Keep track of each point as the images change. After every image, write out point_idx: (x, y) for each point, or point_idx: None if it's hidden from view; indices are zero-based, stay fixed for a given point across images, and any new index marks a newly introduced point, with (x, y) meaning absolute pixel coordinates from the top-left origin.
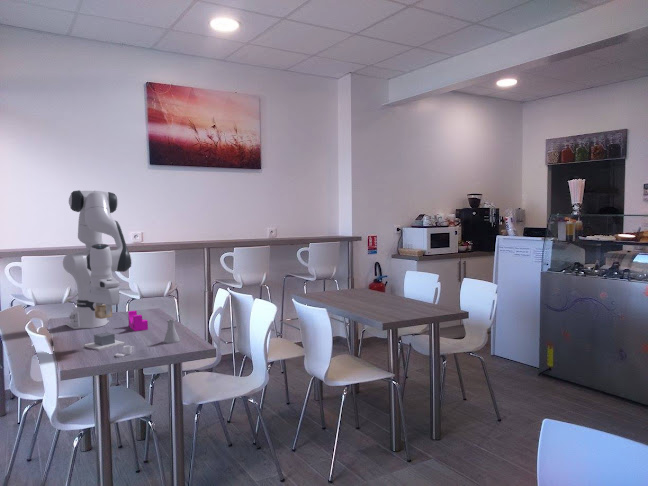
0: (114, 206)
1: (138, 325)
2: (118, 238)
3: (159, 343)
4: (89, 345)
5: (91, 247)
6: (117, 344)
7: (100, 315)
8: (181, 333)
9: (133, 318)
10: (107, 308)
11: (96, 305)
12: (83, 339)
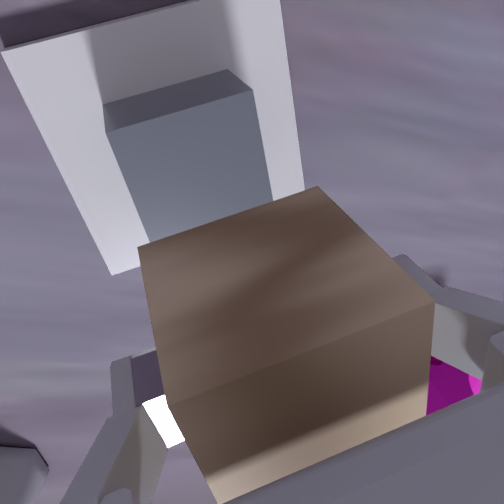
0: None
1: None
2: None
3: (10, 427)
4: (202, 11)
5: None
6: (85, 222)
7: (170, 268)
8: (177, 499)
9: (460, 394)
10: (82, 475)
11: (493, 329)
12: (493, 53)
